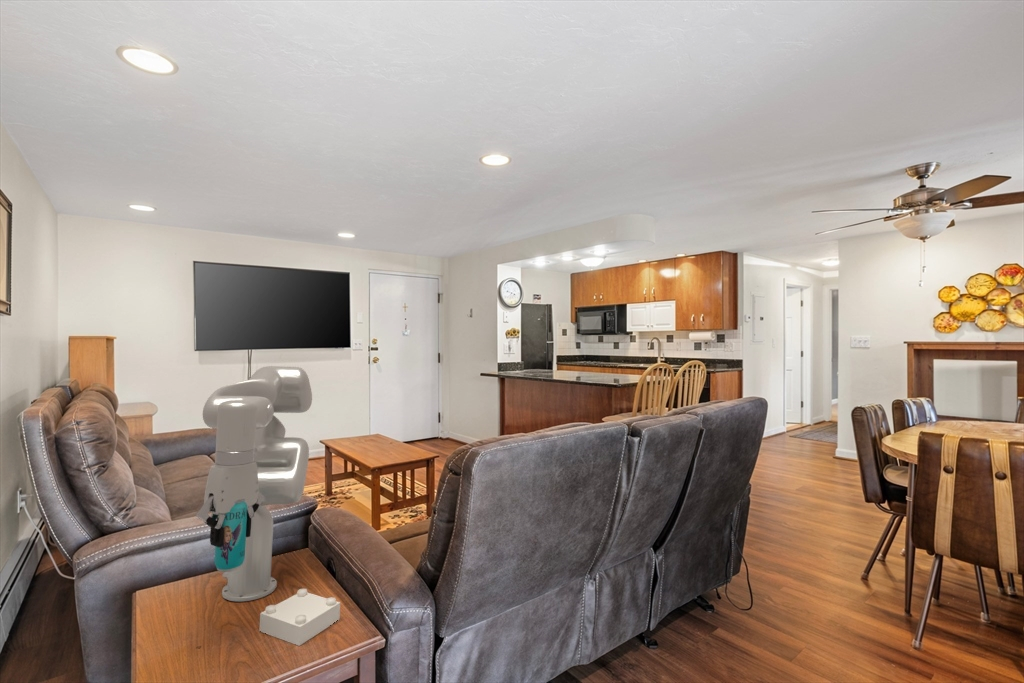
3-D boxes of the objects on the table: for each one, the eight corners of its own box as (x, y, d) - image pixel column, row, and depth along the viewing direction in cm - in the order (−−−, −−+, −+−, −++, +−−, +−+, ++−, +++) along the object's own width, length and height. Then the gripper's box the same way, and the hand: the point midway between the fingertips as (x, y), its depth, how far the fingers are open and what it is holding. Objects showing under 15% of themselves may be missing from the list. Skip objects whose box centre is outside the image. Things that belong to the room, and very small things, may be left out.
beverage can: (212, 575, 106) (215, 503, 106) (216, 564, 111) (219, 495, 111) (242, 571, 108) (246, 501, 108) (245, 560, 113) (249, 493, 114)
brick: (259, 631, 113) (260, 608, 113) (301, 607, 124) (302, 586, 124) (299, 645, 108) (300, 622, 108) (339, 619, 119) (340, 598, 119)
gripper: (257, 448, 119) (253, 525, 119) (184, 462, 104) (179, 550, 103) (280, 452, 116) (276, 531, 116) (208, 467, 101) (203, 558, 100)
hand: (230, 539), depth 110 cm, fingers closed on beverage can, 5 cm apart
